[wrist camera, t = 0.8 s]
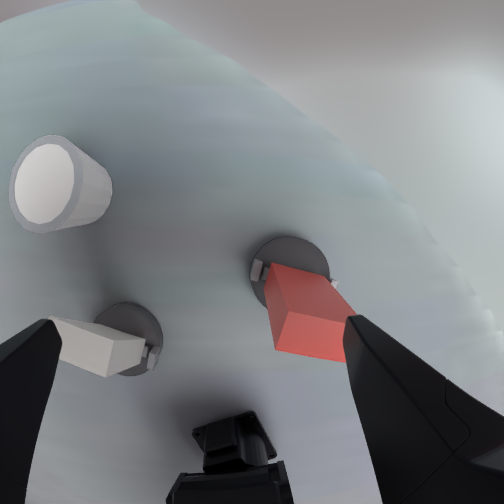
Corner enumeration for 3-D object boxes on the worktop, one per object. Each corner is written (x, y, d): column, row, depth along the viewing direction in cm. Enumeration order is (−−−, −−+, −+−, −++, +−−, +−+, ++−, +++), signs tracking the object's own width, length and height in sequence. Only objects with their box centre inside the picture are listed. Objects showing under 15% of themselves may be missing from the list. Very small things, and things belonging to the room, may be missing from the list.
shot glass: (81, 248, 24) (37, 255, 17) (42, 193, 24) (-5, 185, 17) (134, 193, 24) (101, 181, 17) (90, 139, 24) (52, 114, 17)
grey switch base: (158, 375, 25) (148, 394, 22) (95, 354, 25) (79, 369, 21) (170, 314, 25) (160, 327, 22) (103, 293, 25) (85, 302, 21)
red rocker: (315, 300, 24) (356, 367, 14) (258, 286, 23) (267, 352, 14) (325, 273, 23) (373, 329, 14) (266, 258, 23) (282, 309, 13)
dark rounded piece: (312, 316, 26) (323, 329, 22) (240, 299, 25) (242, 311, 22) (331, 248, 26) (346, 251, 22) (260, 228, 25) (264, 227, 21)
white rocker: (145, 363, 23) (111, 379, 13) (94, 346, 22) (37, 348, 13) (151, 340, 23) (119, 342, 14) (99, 323, 23) (44, 313, 14)
